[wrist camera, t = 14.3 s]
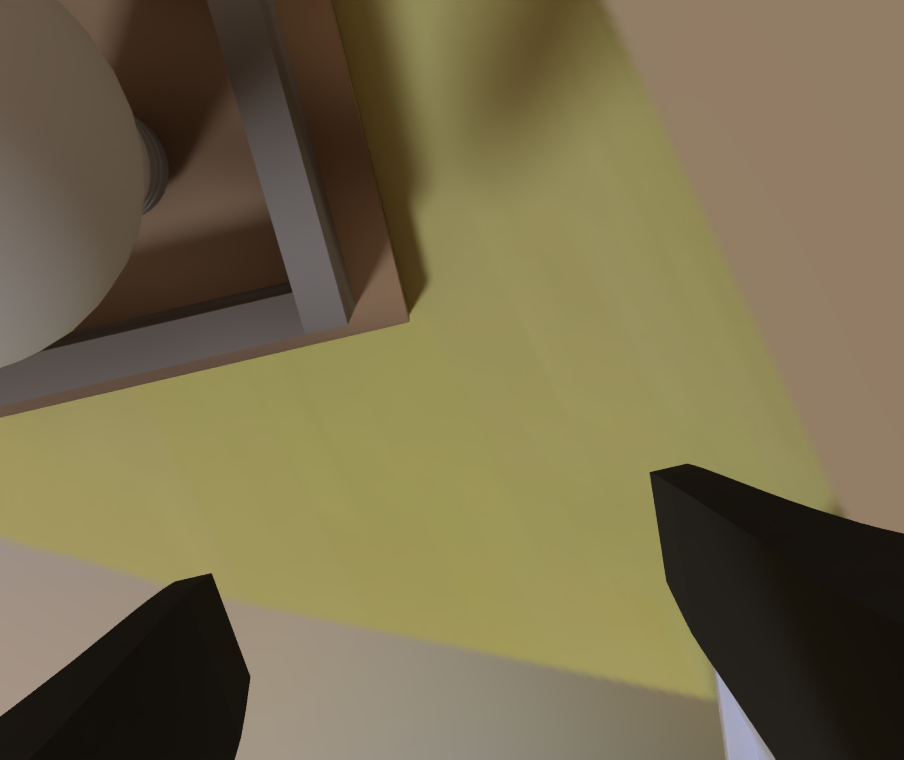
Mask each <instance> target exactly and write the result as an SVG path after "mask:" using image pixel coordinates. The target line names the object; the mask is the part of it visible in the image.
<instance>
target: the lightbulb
mask: <svg viewBox="0 0 904 760" xmlns="http://www.w3.org/2000/svg"><path fill="white" fill-rule="evenodd" d="M168 176H169V168H168V160H167V156H166V152H165V150H164V148H163V146H162V143H161V141H160V140H159V138H158V137H157V136H156V134H155V133H154V132H153V130H152V129H151V128H150V127H149V126H148V125H147V124H146V123H144V122H143V121H141V120H140V119H139V118H137V117H135V116H133V113H132V110H131V108H130V105H129V103H128V101H127V99H126V97H125V94H124V92H123V90H122V88H121V86H120V83H119V81H118V79H117V77H116V75H115V72H114V71H113V69H112V68H111V66H110V65H109V63H108V62H107V60H106V59H105V57H104V56H103V54H102V53H101V52H100V50H99V49H98V47H97V46H96V44H95V43H94V41H93V40H92V38H91V37H90V35H89V34H88V33H87V32H86V30H85V29H84V28H83V27H82V26H81V24H80V23H79V22H78V21H77V20H76V18H75V17H74V16H73V15H72V14H71V13H70V12H69V11H68V10H67V9H66V8H65V7H64V6H63V5H62V4H61V3H60V2H59V0H0V368H1V367H4V366H7V365H10V364H12V363H15V362H18V361H21V360H23V359H25V358H27V357H29V356H31V355H33V354H35V353H37V352H39V351H41V350H43V349H44V348H46V347H48V346H49V345H51V344H52V343H54V342H56V341H57V340H59V339H60V338H62V337H64V336H65V335H67V334H68V333H70V332H72V331H73V330H74V329H75V328H76V327H77V326H78V325H79V324H80V323H81V322H82V321H83V320H84V319H85V318H86V317H87V316H88V315H89V314H90V313H91V312H92V311H93V310H94V309H95V308H96V307H97V306H98V305H99V304H100V302H101V301H102V300H103V298H104V297H105V296H106V294H107V293H108V292H109V290H110V289H111V287H112V286H113V284H114V283H115V281H116V279H117V278H118V276H119V275H120V273H121V272H122V270H123V268H124V267H125V265H126V264H127V262H128V260H129V257H130V254H131V251H132V249H133V246H134V243H135V240H136V237H137V235H138V232H139V229H140V223H141V216H142V215H144V214H146V213H147V212H149V211H150V210H152V209H153V208H154V207H155V206H156V205H157V204H158V203H159V201H160V199H161V198H162V196H163V195H164V192H165V190H166V187H167V183H168Z"/></svg>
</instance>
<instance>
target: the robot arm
mask: <svg viewBox="0 0 904 760" xmlns="http://www.w3.org/2000/svg"><path fill="white" fill-rule="evenodd" d="M650 478H651V484H652V491H653V497H654V504H655V510H656V517H657V523H658V530H659V536H660V543H661V549H662V556H663V562H664V569H665V575H666V581H667V584H668V586H669V588H670V590H671V592H672V594H673V596H674V598H675V601H676V603H677V605H678V607H679V609H680V611H681V613H682V615H683V617H684V619H685V621H686V623H687V625H688V627H689V629H690V631H691V633H692V635H693V636H694V638H695V639H696V641H697V642H698V644H699V645H700V647H701V649H702V650H703V652H704V653H705V655H706V656H707V658H708V659H709V661H710V662H711V664H712V665H713V670H714V677H715V684H716V692H717V699H718V706H719V713H720V721H721V727H722V735H723V742H724V750H725V757H726V760H904V534H903V533H898V532H894V531H890V530H886V529H881V528H877V527H874V526H870V525H866V524H862V523H859V522H855V521H852V520H849V519H845V518H842V517H839V516H836V515H832V514H829V513H826V512H823V511H819V510H816V509H813V508H810V507H807V506H804V505H801V504H798V503H795V502H792V501H790V500H787V499H784V498H781V497H778V496H776V495H773V494H770V493H767V492H765V491H762V490H759V489H757V488H754V487H751V486H749V485H746V484H744V483H741V482H738V481H736V480H733V479H731V478H728V477H725V476H723V475H720V474H717V473H715V472H712V471H709V470H706V469H704V468H701V467H698V466H694V465H690V464H683V465H679V466H675V467H670V468H666V469H662V470H657V471H653V472H650ZM249 684H250V674H249V672H248V669H247V667H246V664H245V661H244V658H243V656H242V653H241V650H240V648H239V645H238V642H237V640H236V637H235V634H234V632H233V629H232V626H231V624H230V621H229V618H228V616H227V613H226V611H225V608H224V605H223V602H222V600H221V597H220V594H219V592H218V589H217V586H216V584H215V581H214V578H213V576H212V573H210V574H206V575H201V576H197V577H193V578H188V579H184V580H180V581H175V582H174V583H172V584H170V585H169V586H167V587H165V588H164V589H162V590H161V591H160V592H159V593H157V594H156V595H154V596H153V597H151V598H150V599H149V600H147V601H146V602H145V603H144V604H142V605H141V606H140V607H138V608H137V609H136V610H135V611H134V612H132V613H131V614H130V615H129V616H128V617H126V618H125V619H124V620H122V621H121V622H120V623H119V624H118V625H116V626H115V627H114V628H113V629H111V630H110V631H109V632H108V633H106V634H105V635H104V636H103V637H101V638H100V639H99V640H98V641H97V642H95V643H94V644H93V645H92V646H91V647H89V648H88V649H87V650H86V651H84V652H83V653H82V654H81V655H79V656H78V657H77V658H76V659H75V660H73V661H72V662H71V663H70V664H68V665H67V666H66V667H64V668H63V669H62V670H60V671H59V672H58V673H57V674H55V675H54V676H53V677H51V678H50V679H49V680H47V681H46V682H45V683H44V684H42V685H41V686H40V687H38V688H37V689H36V690H34V691H33V692H32V693H31V694H30V695H28V696H27V697H25V698H24V699H23V700H21V701H20V702H19V703H18V704H16V705H15V706H14V707H12V708H11V709H10V710H8V711H7V712H6V713H5V714H3V715H2V716H0V760H235V757H236V753H237V750H238V746H239V742H240V739H241V734H242V729H243V723H244V717H245V712H246V705H247V697H248V691H249Z"/></svg>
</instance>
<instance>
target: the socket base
mask: <svg viewBox="0 0 904 760" xmlns="http://www.w3.org/2000/svg"><path fill="white" fill-rule="evenodd" d="M59 2H60V3H61V4H62V5H63V6H64V7H65V8H66V9H67V10H68V11H69V12H70V13H71V14H72V15H73V16H74V17H75V18H76V20H77V21H78V22H79V23H80V24H81V26H82V27H83V28H84V29H85V30H86V32H87V33H88V34H89V35H90V37H91V38H92V40H93V41H94V43H95V44H96V46H97V47H98V49H99V50H100V52H101V53H102V54H103V56H104V57H105V59H106V60H107V62H108V63H109V65H110V66H111V68H112V69H113V71H114V72H115V75H116V77H117V79H118V81H119V83H120V86H121V88H122V90H123V92H124V94H125V97H126V99H127V101H128V103H129V105H130V108H131V110H132V113H133V116H135V117H137V118H139V119H140V120H141V121H143V122H144V123H146V124H147V125H148V126H149V127H150V128H151V129H152V130H153V132H154V133H155V134H156V136H157V137H158V138H159V140H160V141H161V143H162V146H163V148H164V150H165V152H166V156H167V160H168V168H169V176H168V183H167V187H166V190H165V192H164V195H163V196H162V198H161V199H160V201H159V203H158V204H157V205H156V206H155V207H154V208H153V209H152V210H150V211H149V212H147V213H146V214H144V215H142V216H141V223H140V229H139V232H138V235H137V237H136V240H135V243H134V246H133V249H132V251H131V254H130V257H129V260H128V262H127V264H126V265H125V267H124V268H123V270H122V272H121V273H120V275H119V276H118V278H117V279H116V281H115V283H114V284H113V286H112V287H111V289H110V290H109V292H108V293H107V294H106V296H105V297H104V298H103V300H102V301H101V302H100V304H99V305H98V306H97V307H96V308H95V309H94V310H93V311H92V312H91V313H90V314H89V315H88V316H87V317H86V318H85V319H84V320H83V321H82V322H81V323H80V324H79V325H78V326H77V327H76V328H75V329H74V330H73V331H72V332H70V333H68V334H67V335H65V336H64V337H62V338H60V339H59V340H57V341H56V342H54V343H52V344H51V345H49V346H48V347H46V348H44V349H43V350H41V351H39V352H37V353H35V354H33V355H31V356H29V357H27V358H25V359H23V360H21V361H18V362H15V363H12V364H10V365H7V366H4V367H1V368H0V417H4V416H9V415H13V414H17V413H22V412H26V411H30V410H34V409H39V408H43V407H47V406H52V405H56V404H60V403H64V402H69V401H73V400H77V399H82V398H86V397H90V396H94V395H99V394H103V393H107V392H112V391H116V390H120V389H124V388H129V387H133V386H137V385H142V384H146V383H150V382H154V381H159V380H163V379H167V378H172V377H176V376H180V375H184V374H189V373H193V372H197V371H202V370H206V369H210V368H214V367H219V366H223V365H227V364H232V363H236V362H240V361H244V360H249V359H253V358H257V357H261V356H266V355H270V354H274V353H279V352H283V351H287V350H291V349H296V348H300V347H304V346H309V345H313V344H317V343H321V342H326V341H330V340H334V339H339V338H343V337H347V336H351V335H356V334H360V333H364V332H369V331H373V330H377V329H381V328H386V327H390V326H394V325H399V324H403V323H407V322H409V311H408V307H407V303H406V299H405V295H404V291H403V287H402V283H401V279H400V275H399V271H398V267H397V262H396V258H395V254H394V250H393V246H392V242H391V238H390V234H389V230H388V226H387V222H386V218H385V214H384V210H383V206H382V202H381V198H380V194H379V190H378V186H377V182H376V178H375V174H374V169H373V165H372V161H371V157H370V153H369V149H368V145H367V141H366V137H365V133H364V129H363V125H362V121H361V117H360V113H359V109H358V105H357V101H356V97H355V93H354V89H353V85H352V81H351V77H350V72H349V68H348V64H347V60H346V56H345V52H344V48H343V44H342V40H341V36H340V32H339V28H338V24H337V20H336V16H335V12H334V8H333V4H332V0H59Z"/></svg>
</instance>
